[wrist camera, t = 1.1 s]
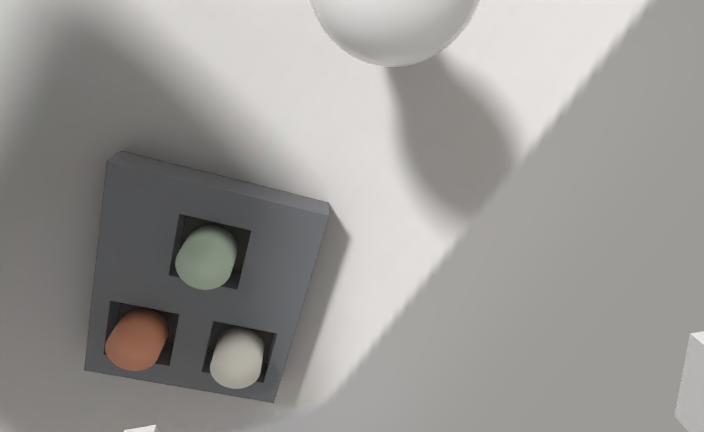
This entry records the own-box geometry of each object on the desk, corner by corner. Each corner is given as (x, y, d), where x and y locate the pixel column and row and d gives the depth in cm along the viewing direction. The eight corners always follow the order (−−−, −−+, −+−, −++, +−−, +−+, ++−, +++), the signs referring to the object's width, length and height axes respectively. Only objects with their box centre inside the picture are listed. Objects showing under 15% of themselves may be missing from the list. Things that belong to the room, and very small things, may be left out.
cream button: (212, 360, 31) (205, 383, 29) (221, 323, 30) (214, 344, 28) (258, 369, 32) (254, 392, 30) (268, 332, 31) (265, 354, 29)
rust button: (116, 343, 30) (102, 365, 28) (121, 303, 29) (107, 324, 27) (165, 352, 31) (155, 374, 29) (172, 313, 30) (162, 334, 28)
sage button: (181, 264, 28) (171, 283, 26) (189, 219, 27) (179, 235, 25) (232, 275, 29) (226, 294, 27) (242, 231, 28) (236, 248, 26)
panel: (97, 349, 32) (84, 370, 30) (121, 151, 27) (106, 161, 25) (275, 381, 34) (273, 403, 32) (328, 202, 29) (329, 215, 27)
